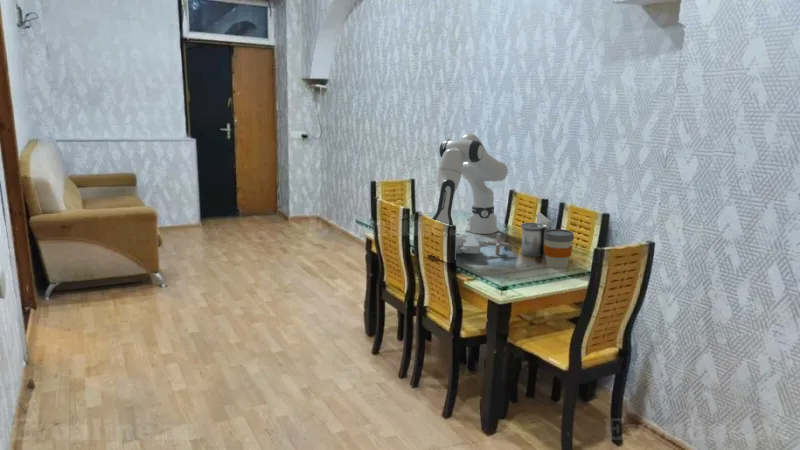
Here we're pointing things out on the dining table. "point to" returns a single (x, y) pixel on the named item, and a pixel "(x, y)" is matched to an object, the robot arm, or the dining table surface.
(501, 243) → the pipe connector
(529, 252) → the duct stub
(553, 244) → the reusable coffee cup
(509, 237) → the dining table surface
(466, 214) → the dining table surface
